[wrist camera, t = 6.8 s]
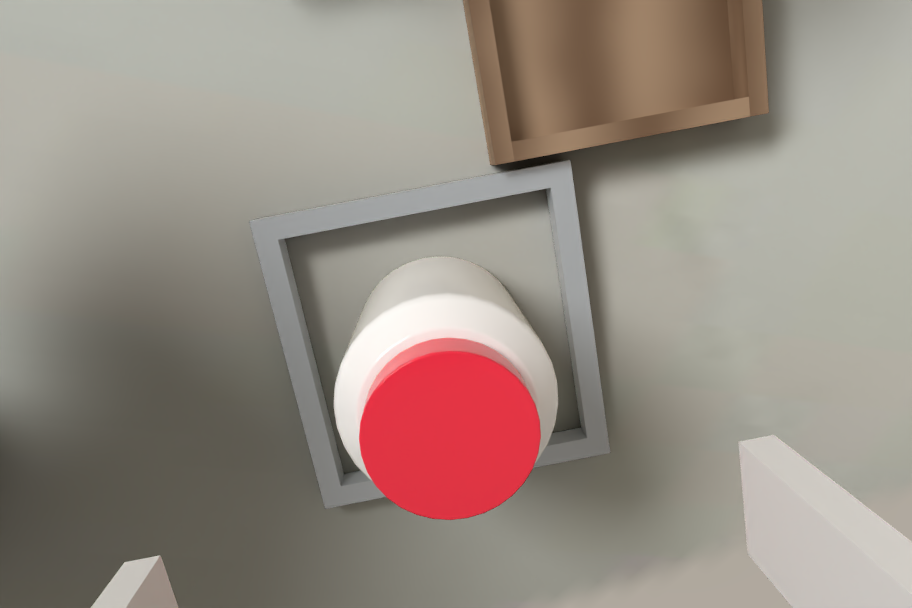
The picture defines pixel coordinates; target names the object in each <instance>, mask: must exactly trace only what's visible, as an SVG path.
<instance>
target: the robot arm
mask: <svg viewBox="0 0 912 608" xmlns="http://www.w3.org/2000/svg"><path fill="white" fill-rule="evenodd" d="M739 454H740V466H741V479H742V491H743V503H744V515H745V528H746V540H747V552H748V555H749V556H750V557H751V558H752V560H753V561H754V562H755V563H756V564H757V566H758V567H759V568H760V569H761V570H762V571H763V573H764V574H765V575H766V576H767V578H768V579H769V580H770V581H771V582H772V584H773V585H774V586H775V587H776V588H777V590H778V591H779V592H780V593H781V594H782V595H783V597H784V598H785V599H786V600H787V602H788V603H789V604H790V605H791V606H792V608H912V541H910V540H909V539H908V538H906V537H905V536H904V535H903V534H901V533H900V532H899V531H897V530H896V529H895V528H893V527H892V526H891V525H890V524H888V523H887V522H886V521H885V520H883V519H882V518H881V517H879V516H878V515H877V514H875V513H874V512H873V511H872V510H870V509H869V508H868V507H866V506H865V505H864V504H863V503H861V502H860V501H859V500H857V499H856V498H855V497H854V496H852V495H851V494H850V493H848V492H847V491H846V490H845V489H843V488H842V487H841V486H839V485H838V484H837V483H836V482H834V481H833V480H832V479H830V478H829V477H828V476H826V475H825V474H824V473H823V472H821V471H820V470H819V469H817V468H816V467H815V466H814V465H812V464H811V463H810V462H808V461H807V460H806V459H805V458H803V457H802V456H801V455H799V454H798V453H797V452H796V451H794V450H793V449H792V448H790V447H789V446H788V445H786V444H785V443H784V442H783V441H781V440H780V439H779V438H777V437H776V436H775V435H770V436H765V437H760V438H754V439H749V440H744V441H739ZM91 608H179V607H178V605H177V602H176V599H175V596H174V593H173V590H172V587H171V584H170V581H169V578H168V575H167V572H166V570H165V567H164V564H163V561H162V558H161V555H159V556H154V557H149V558H144V559H139V560H134V561H128V562H124V564H123V565H122V566H121V568H120V569H119V570H118V572H117V573H116V574H115V576H114V577H113V578H112V580H111V581H110V582H109V584H108V585H107V586H106V588H105V589H104V590H103V592H102V593H101V595H100V596H99V597H98V599H97V600H96V601H95V603H94V604H93V605H92V607H91Z"/></svg>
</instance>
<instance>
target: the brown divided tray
mask: <svg viewBox="0 0 912 608" xmlns="http://www.w3.org/2000/svg"><path fill="white" fill-rule="evenodd" d="M463 4H464V10H465V16H466V22H467V28H468V34H469V40H470V46H471V52H472V58H473V64H474V70H475V76H476V82H477V88H478V94H479V100H480V106H481V112H482V118H483V124H484V130H485V136H486V142H487V148H488V154H489V160H490V165H499V164H504V163H509V162H514V161H520V160H525V159H530V158H535V157H541V156H546V155H551V154H556V153H562V152H567V151H572V150H577V149H583V148H588V147H593V146H598V145H604V144H609V143H614V142H619V141H625V140H630V139H635V138H640V137H646V136H651V135H656V134H661V133H667V132H672V131H677V130H682V129H688V128H693V127H698V126H703V125H709V124H714V123H719V122H724V121H730V120H735V119H740V118H745V117H751V116H756V115H761V114H766V113H769V106H768V90H767V73H766V57H765V40H764V23H763V7H762V0H463Z"/></svg>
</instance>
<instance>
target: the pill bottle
mask: <svg viewBox="0 0 912 608" xmlns="http://www.w3.org/2000/svg"><path fill="white" fill-rule="evenodd" d="M333 406H334V412H335V419H336V426H337V429H338V431H339V434H340V437H341V440H342V442H343V445H344V447H345V449H346V451H347V452H348V454H349V455H350V457H351V458H352V460H353V462H354V463H355V465H356V466H357V467H358V468H359V469H360V470H361V471H362V472H363V473H364V474H365V475H366V476H367V477H368V478H369V479H370V480H371V481H373V482H374V484H375V485H376V487H377V488H378V489H379V490H380V491H381V492H382V493H383V494H384V495H385V496H386V497H387V498H388V499H389V500H391V501H392V502H394V503H395V504H396V505H398V506H399V507H401V508H403V509H405V510H407V511H409V512H412V513H414V514H416V515H420V516H424V517H428V518H432V519H445V520H453V519H462V518H469V517H472V516H476V515H479V514H482V513H485V512H487V511H489V510H491V509H493V508H495V507H497V506H499V505H500V504H502V503H503V502H504V501H506V500H507V499H508V498H510V497H511V496H512V495H513V494H514V493H515V492H516V491H517V490H518V489H519V488H520V487H521V486H522V485H523V483H524V482H525V481H526V479H527V477H528V476H529V474H530V472H531V471H532V469H533V467H534V464H535V463H536V462H537V460H538V459H539V457H540V456H541V454H542V452H543V451H544V449H545V447H546V446H547V444H548V442H549V439H550V437H551V434H552V431H553V429H554V426H555V422H556V415H557V408H558V386H557V379H556V375H555V372H554V368H553V364H552V361H551V359H550V357H549V355H548V353H547V351H546V349H545V347H544V345H543V344H542V342H541V340H540V338H539V337H538V335H537V334H536V332H535V331H534V329H533V328H532V326H531V325H530V323H529V322H528V320H527V319H526V317H525V316H524V314H523V313H522V311H521V310H520V308H519V307H518V305H517V304H516V302H515V301H514V299H513V298H512V296H511V295H510V293H509V292H508V291H507V290H506V288H505V287H504V286H503V285H502V283H501V282H500V281H499V280H498V279H497V278H496V277H494V276H493V275H492V274H491V273H489V272H488V271H487V270H485V269H484V268H482V267H480V266H478V265H476V264H474V263H472V262H469V261H466V260H462V259H459V258H454V257H444V256H437V257H426V258H421V259H418V260H415V261H411V262H408V263H406V264H404V265H402V266H401V267H399V268H397V269H395V270H393V271H392V272H391V273H390V274H388V275H387V276H386V277H385V278H383V279H382V280H381V281H380V282H379V284H378V285H377V286H376V287H375V288H374V290H373V291H372V292H371V293H370V295H369V297H368V299H367V301H366V303H365V305H364V307H363V309H362V311H361V314H360V316H359V319H358V321H357V324H356V326H355V329H354V331H353V334H352V336H351V339H350V341H349V344H348V346H347V349H346V351H345V354H344V356H343V359H342V361H341V365H340V368H339V372H338V375H337V379H336V382H335V390H334V405H333Z"/></svg>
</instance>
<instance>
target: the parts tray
mask: <svg viewBox="0 0 912 608" xmlns="http://www.w3.org/2000/svg"><path fill="white" fill-rule="evenodd" d="M541 189H546V193H547V200H548V207H549V214H550V221H551V227H552V234H553V241H554V248H555V254H556V261H557V268H558V275H559V282H560V288H561V295H562V302H563V309H564V316H565V322H566V329H567V336H568V343H569V349H570V356H571V363H572V370H573V377H574V383H575V390H576V397H577V404H578V410H579V417H580V424H581V428H576V429H571V430H566V431H561V432H556V433H552V434H551V437H550V439H549V442H548V444H547V446H546V447H545V449H544V451H543V452H542V454H541V456H540V457H539V459H538V460H537V462H536V463H535V464H534V467H533V468H536V467H541V466H546V465H552V464H557V463H562V462H567V461H572V460H577V459H582V458H587V457H592V456H597V455H603V454H608V453H610V446H609V439H608V432H607V424H606V417H605V410H604V402H603V395H602V388H601V380H600V373H599V366H598V358H597V351H596V344H595V336H594V329H593V322H592V315H591V307H590V300H589V293H588V285H587V278H586V271H585V263H584V256H583V249H582V241H581V234H580V227H579V219H578V212H577V205H576V197H575V190H574V183H573V175H572V168H571V161H570V160H562V161H557V162H551V163H546V164H541V165H536V166H530V167H525V168H520V169H515V170H509V171H504V172H499V173H494V174H488V175H483V176H478V177H473V178H467V179H462V180H457V181H452V182H446V183H441V184H436V185H431V186H425V187H420V188H415V189H410V190H404V191H399V192H394V193H389V194H383V195H378V196H373V197H368V198H362V199H357V200H352V201H347V202H341V203H336V204H331V205H326V206H320V207H315V208H310V209H305V210H300V211H294V212H289V213H284V214H279V215H273V216H268V217H263V218H258V219H254V220H251V221H249V223H250V227H251V231H252V235H253V238H254V242H255V246H256V250H257V253H258V257H259V261H260V265H261V269H262V272H263V276H264V280H265V284H266V288H267V291H268V295H269V299H270V303H271V306H272V310H273V314H274V318H275V322H276V325H277V329H278V333H279V337H280V340H281V344H282V348H283V352H284V356H285V359H286V363H287V367H288V371H289V375H290V378H291V382H292V386H293V390H294V393H295V397H296V401H297V405H298V409H299V412H300V416H301V420H302V424H303V427H304V431H305V435H306V439H307V443H308V446H309V450H310V454H311V458H312V462H313V465H314V469H315V473H316V477H317V480H318V484H319V488H320V492H321V496H322V499H323V503H324V507H325V509H327V508H332V507H337V506H343V505H348V504H353V503H358V502H363V501H368V500H373V499H378V498H383V497H386V496H385V495H384V494H383V493H382V492H381V491H380V490H379V489H378V488H377V487H376V485H375V484H374V482H373V481H371V480H370V479H369V478H368V477H367V476H366V475H365V474H364V473H363V472H362V471H357V472H351V473H346V474H344V472H343V468H342V464H341V460H340V456H339V452H338V448H337V444H336V440H335V437H334V433H333V429H332V425H331V421H330V417H329V413H328V409H327V405H326V401H325V397H324V393H323V389H322V385H321V381H320V377H319V373H318V369H317V365H316V361H315V357H314V353H313V349H312V345H311V341H310V337H309V333H308V329H307V326H306V322H305V318H304V314H303V310H302V306H301V302H300V298H299V294H298V290H297V286H296V282H295V278H294V274H293V270H292V266H291V262H290V258H289V254H288V250H287V246H286V242H285V238H290V237H295V236H301V235H306V234H311V233H316V232H321V231H327V230H332V229H337V228H342V227H348V226H353V225H358V224H363V223H369V222H374V221H379V220H384V219H389V218H395V217H400V216H405V215H410V214H416V213H421V212H426V211H431V210H437V209H442V208H447V207H452V206H458V205H463V204H468V203H473V202H478V201H484V200H489V199H494V198H499V197H505V196H510V195H515V194H520V193H526V192H531V191H536V190H541Z"/></svg>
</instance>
